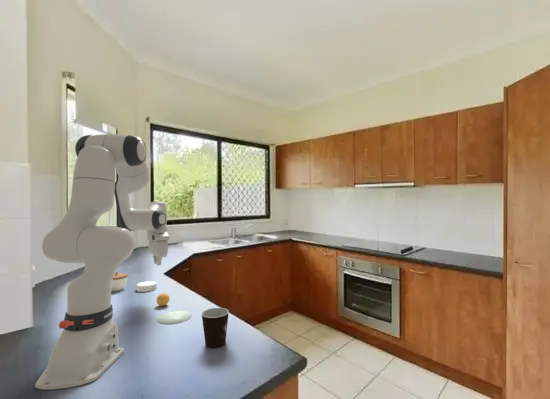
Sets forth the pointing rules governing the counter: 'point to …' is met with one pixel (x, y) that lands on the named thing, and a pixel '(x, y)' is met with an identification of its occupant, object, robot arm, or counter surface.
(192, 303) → the counter surface
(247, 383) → the counter surface
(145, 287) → the white round disc
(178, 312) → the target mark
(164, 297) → the ball
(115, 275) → the lidded jar
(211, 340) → the coffee mug
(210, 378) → the counter surface
